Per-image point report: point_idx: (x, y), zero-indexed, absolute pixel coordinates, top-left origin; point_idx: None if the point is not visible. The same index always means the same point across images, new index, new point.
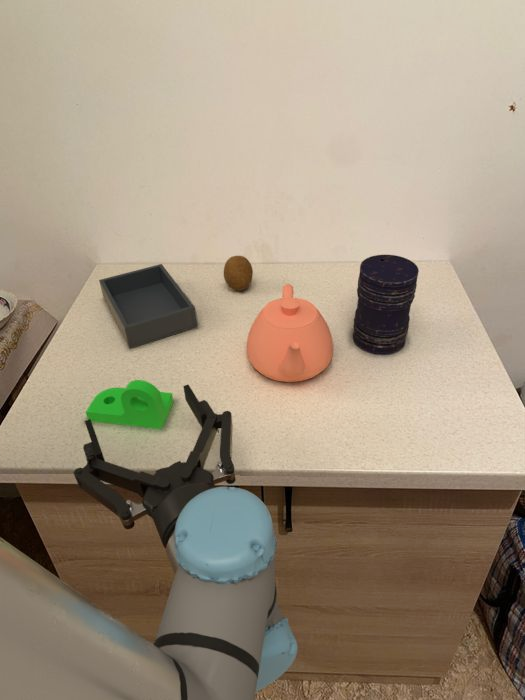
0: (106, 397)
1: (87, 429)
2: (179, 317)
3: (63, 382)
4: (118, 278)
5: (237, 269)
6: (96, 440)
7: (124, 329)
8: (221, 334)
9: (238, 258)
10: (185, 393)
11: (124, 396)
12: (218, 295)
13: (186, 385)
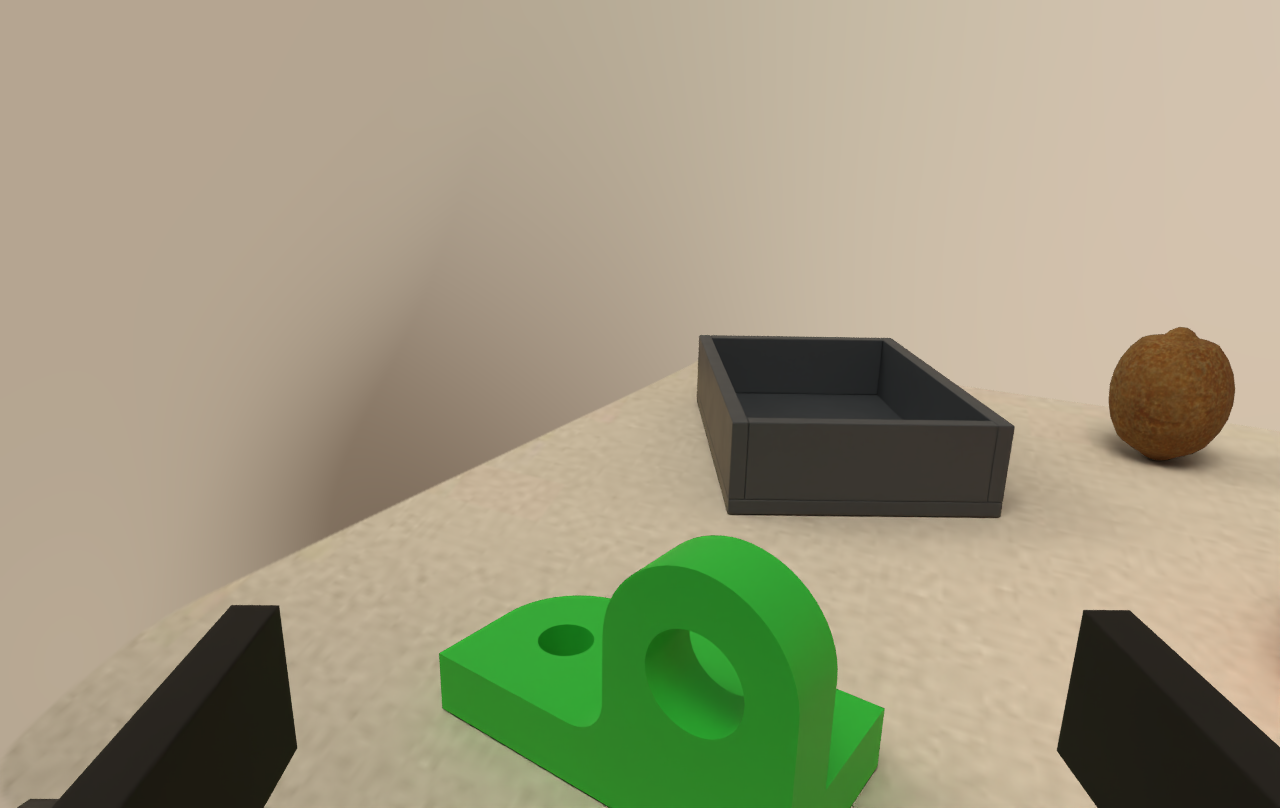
0: (560, 625)
1: (175, 669)
2: (943, 449)
3: (456, 544)
4: (754, 343)
5: (1183, 366)
6: (113, 800)
7: (730, 431)
8: (1112, 560)
9: (1189, 334)
10: (1090, 682)
11: (625, 608)
12: (1074, 457)
13: (1115, 613)
